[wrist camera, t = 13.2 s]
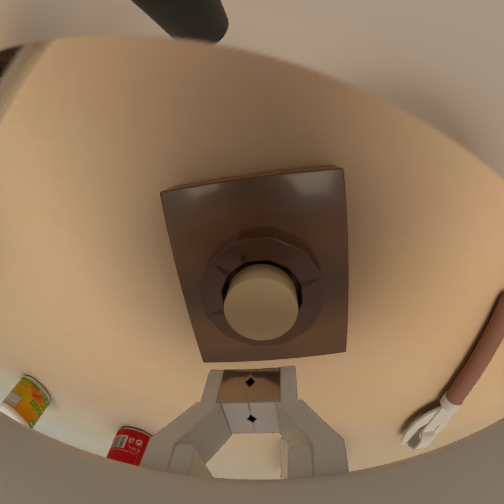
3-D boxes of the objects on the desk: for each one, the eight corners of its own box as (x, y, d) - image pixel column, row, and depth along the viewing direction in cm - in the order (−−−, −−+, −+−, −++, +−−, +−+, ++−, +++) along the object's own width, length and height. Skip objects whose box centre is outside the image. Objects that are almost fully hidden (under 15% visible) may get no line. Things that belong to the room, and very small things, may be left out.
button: (223, 266, 15) (217, 281, 13) (293, 259, 14) (295, 274, 13) (234, 324, 16) (230, 343, 14) (298, 319, 16) (300, 337, 14)
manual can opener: (484, 282, 18) (503, 297, 15) (515, 291, 18) (533, 304, 15) (390, 436, 25) (396, 455, 22) (427, 432, 25) (434, 449, 22)
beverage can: (113, 432, 28) (75, 518, 14) (129, 418, 26) (84, 520, 12) (151, 453, 30) (122, 540, 15) (172, 442, 27) (141, 544, 13)
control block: (172, 186, 17) (145, 198, 13) (335, 165, 16) (353, 170, 12) (209, 344, 21) (197, 380, 17) (340, 333, 20) (351, 369, 16)
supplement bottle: (56, 406, 29) (27, 452, 20) (33, 395, 29) (3, 435, 20) (42, 381, 27) (6, 428, 18) (19, 369, 27) (-16, 411, 18)
